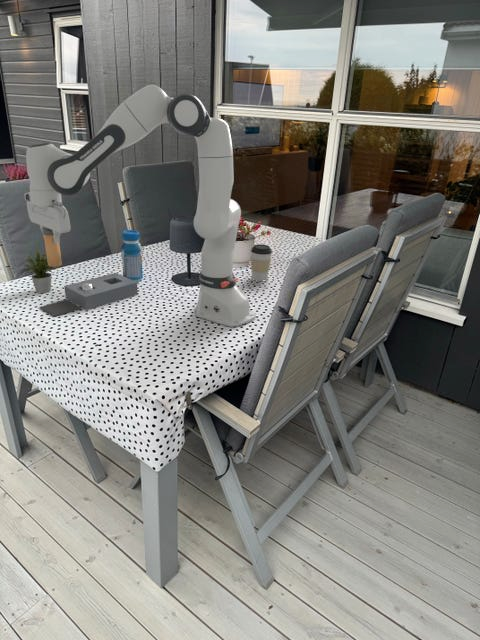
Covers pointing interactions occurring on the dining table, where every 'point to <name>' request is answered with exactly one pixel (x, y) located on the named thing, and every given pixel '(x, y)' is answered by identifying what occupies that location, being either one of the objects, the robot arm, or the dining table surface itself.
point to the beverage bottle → (132, 255)
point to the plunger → (86, 286)
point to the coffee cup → (260, 261)
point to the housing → (101, 291)
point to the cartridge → (52, 249)
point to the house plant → (40, 273)
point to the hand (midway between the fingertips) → (51, 240)
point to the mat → (60, 308)
